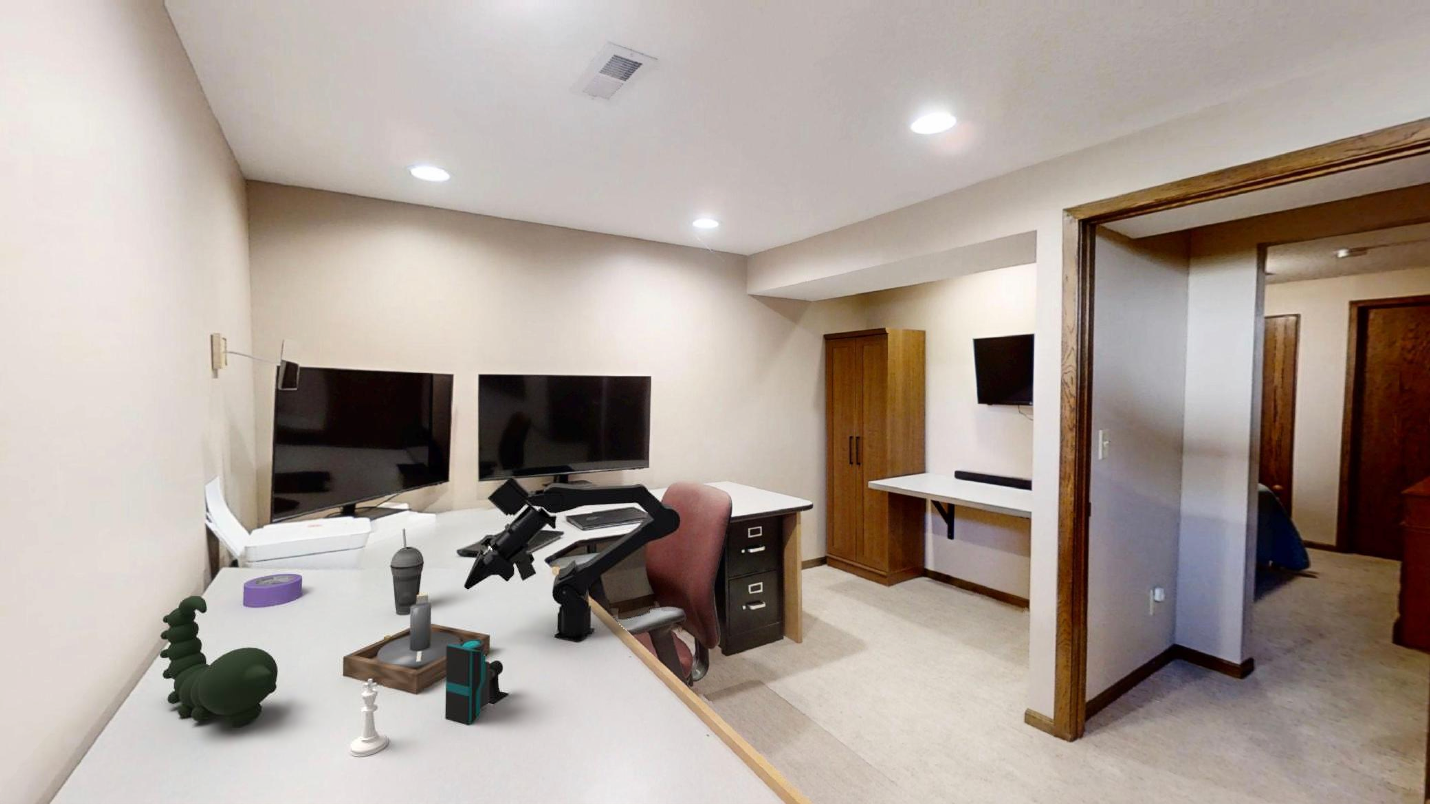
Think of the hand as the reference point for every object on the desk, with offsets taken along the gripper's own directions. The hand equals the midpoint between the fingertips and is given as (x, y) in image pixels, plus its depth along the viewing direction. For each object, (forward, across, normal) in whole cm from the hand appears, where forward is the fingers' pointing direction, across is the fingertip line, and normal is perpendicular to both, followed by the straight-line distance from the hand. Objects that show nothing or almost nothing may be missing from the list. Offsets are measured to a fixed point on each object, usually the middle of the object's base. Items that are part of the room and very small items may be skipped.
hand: (465, 587), depth 118 cm
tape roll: (+40, +49, +22) cm, 67 cm away
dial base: (+15, -4, -3) cm, 15 cm away
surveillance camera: (+8, -25, -10) cm, 28 cm away
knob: (+13, -4, -2) cm, 14 cm away
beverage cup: (+18, +27, 0) cm, 32 cm away
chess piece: (+19, -31, +1) cm, 36 cm away
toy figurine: (+35, -11, +17) cm, 41 cm away
